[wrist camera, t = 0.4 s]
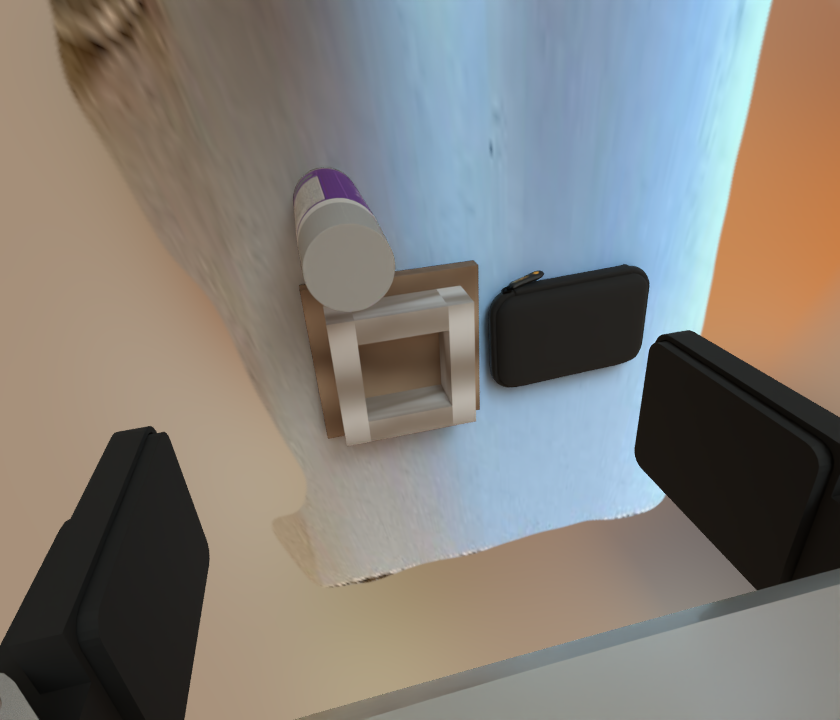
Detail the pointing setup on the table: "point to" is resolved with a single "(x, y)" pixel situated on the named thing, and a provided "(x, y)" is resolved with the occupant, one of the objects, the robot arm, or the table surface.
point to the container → (340, 243)
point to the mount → (399, 356)
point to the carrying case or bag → (566, 324)
